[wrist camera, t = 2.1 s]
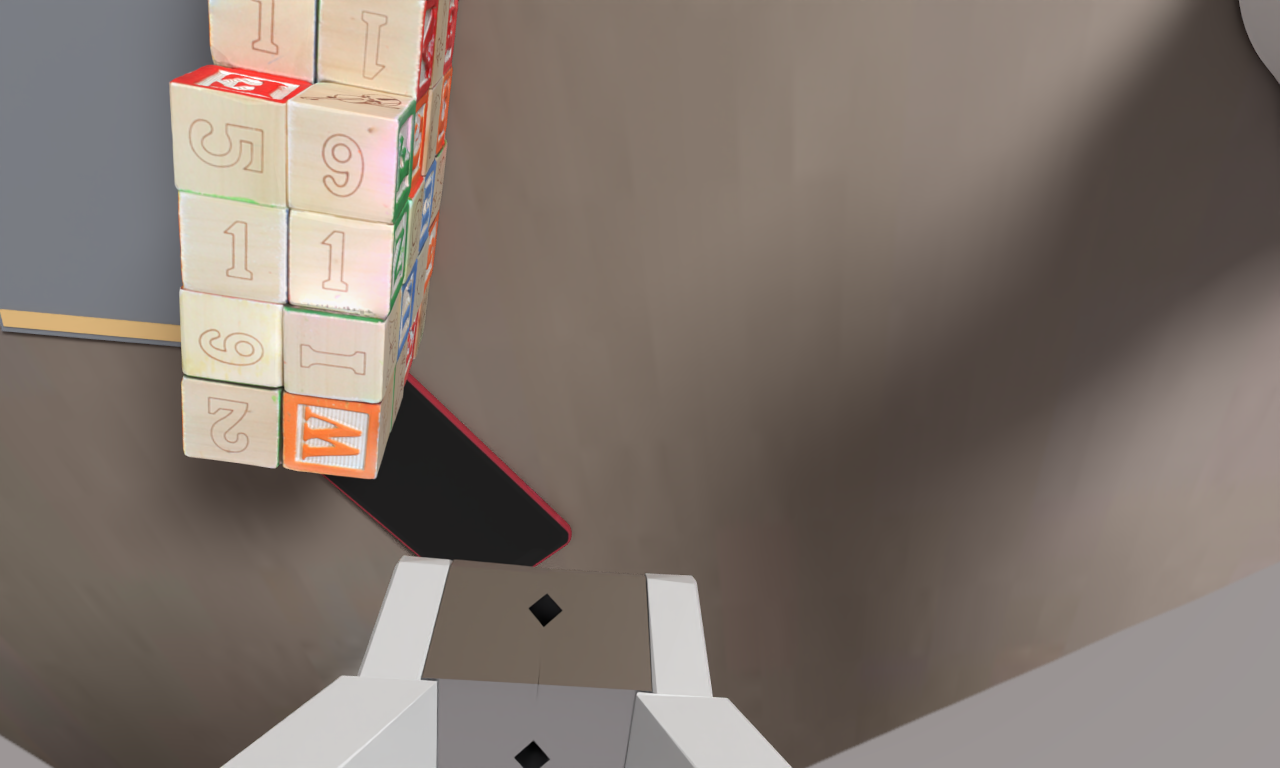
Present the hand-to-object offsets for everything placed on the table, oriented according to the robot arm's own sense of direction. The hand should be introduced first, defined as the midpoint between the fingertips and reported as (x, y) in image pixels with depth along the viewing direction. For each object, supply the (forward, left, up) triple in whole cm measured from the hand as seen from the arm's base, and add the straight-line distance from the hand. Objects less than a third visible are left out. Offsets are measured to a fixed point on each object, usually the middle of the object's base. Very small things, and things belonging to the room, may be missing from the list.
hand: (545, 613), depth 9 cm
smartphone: (+7, +19, -30) cm, 36 cm away
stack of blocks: (+9, 0, -30) cm, 31 cm away
